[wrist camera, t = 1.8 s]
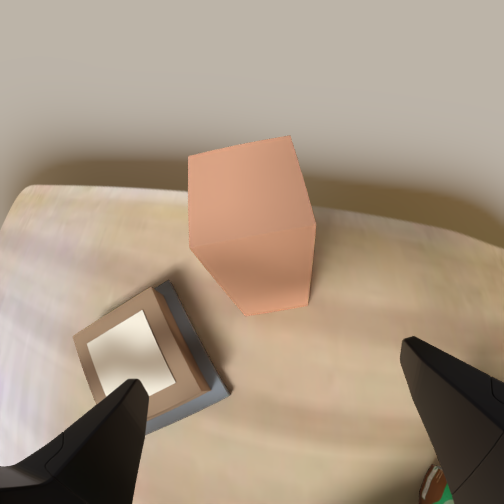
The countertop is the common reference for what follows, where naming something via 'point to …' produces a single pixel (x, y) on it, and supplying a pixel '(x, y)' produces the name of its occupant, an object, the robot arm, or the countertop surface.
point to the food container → (435, 488)
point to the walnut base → (151, 356)
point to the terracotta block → (253, 223)
